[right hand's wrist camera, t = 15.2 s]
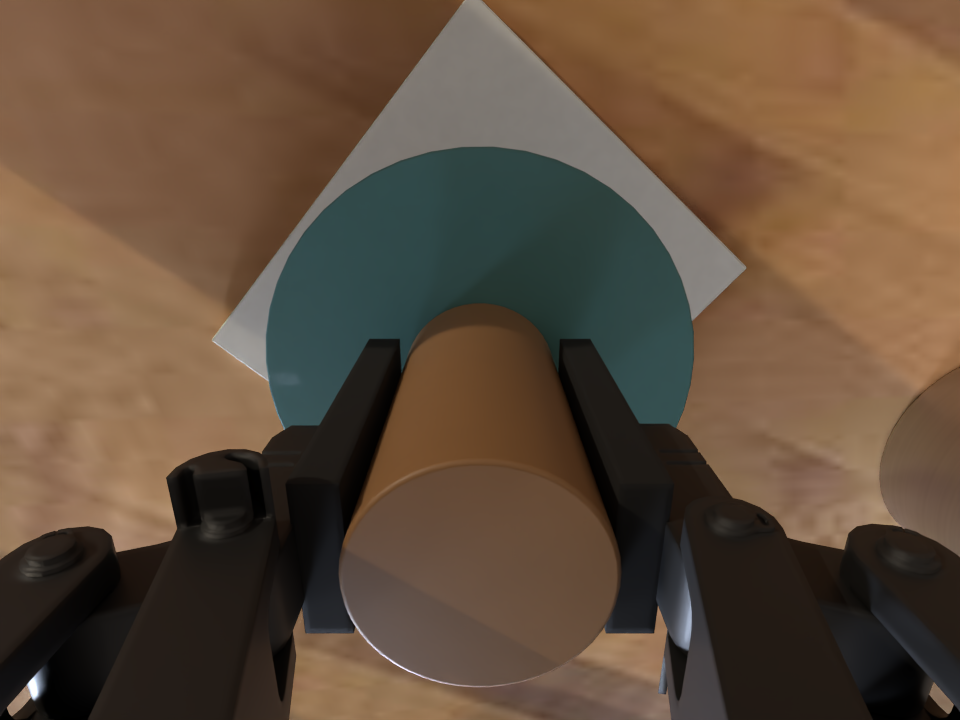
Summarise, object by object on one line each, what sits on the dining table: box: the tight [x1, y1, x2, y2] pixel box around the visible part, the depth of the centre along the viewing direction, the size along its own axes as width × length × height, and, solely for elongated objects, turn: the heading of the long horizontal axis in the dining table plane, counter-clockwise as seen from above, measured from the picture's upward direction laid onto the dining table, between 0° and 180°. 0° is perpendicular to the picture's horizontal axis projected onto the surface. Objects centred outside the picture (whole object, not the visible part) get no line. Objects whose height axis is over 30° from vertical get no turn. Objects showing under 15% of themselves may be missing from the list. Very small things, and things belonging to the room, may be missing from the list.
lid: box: [266, 147, 694, 687], centre depth 12 cm, size 12×12×9 cm
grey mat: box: [212, 0, 746, 381], centre depth 23 cm, size 16×14×1 cm
